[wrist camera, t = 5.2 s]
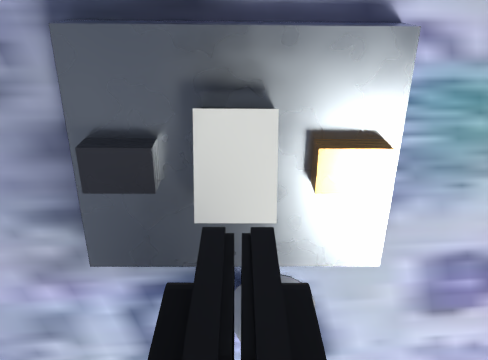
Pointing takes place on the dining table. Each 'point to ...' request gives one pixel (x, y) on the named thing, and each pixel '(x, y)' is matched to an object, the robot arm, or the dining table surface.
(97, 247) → the panel
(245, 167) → the block
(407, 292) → the dining table surface
